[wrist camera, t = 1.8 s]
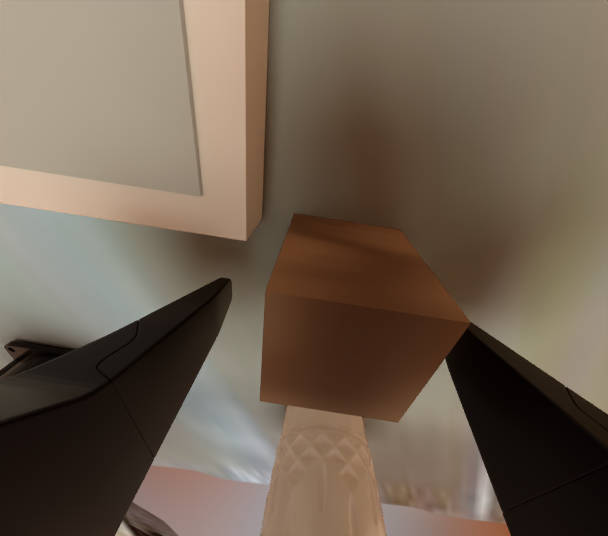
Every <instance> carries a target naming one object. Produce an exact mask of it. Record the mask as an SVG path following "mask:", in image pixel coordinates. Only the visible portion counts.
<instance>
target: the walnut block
mask: <svg viewBox="0 0 608 536" xmlns="http://www.w3.org/2000/svg"><path fill="white" fill-rule="evenodd" d="M470 324H471V323H470V321H469V320H468V319H467V317H466V316H465V315H464V313H463V312H462V311H461V309H460V308H459V307H458V305H457V304H456V303H455V301H454V300H453V299H452V297H451V296H450V295H449V293H448V292H447V291H446V289H445V288H444V287H443V286H442V284H441V283H440V282H439V280H438V279H437V278H436V276H435V275H434V274H433V272H432V271H431V270H430V268H429V267H428V266H427V264H426V263H425V262H424V260H423V259H422V258H421V256H420V255H419V254H418V252H417V251H416V250H415V248H414V247H413V246H412V244H411V243H410V242H409V241H408V239H407V238H406V237H405V235H404V234H403V233H402V231H401V230H398V229H392V228H385V227H379V226H372V225H366V224H359V223H353V222H346V221H340V220H334V219H327V218H321V217H314V216H308V215H301V214H295V213H294V216H293V219H292V221H291V224H290V227H289V229H288V232H287V235H286V237H285V240H284V243H283V245H282V248H281V251H280V253H279V256H278V259H277V261H276V264H275V267H274V270H273V272H272V275H271V278H270V280H269V283H268V286H267V288H266V291H265V309H264V329H263V348H262V368H261V387H260V401H263V402H270V403H276V404H282V405H289V406H295V407H302V408H308V409H315V410H321V411H327V412H334V413H340V414H347V415H353V416H360V417H366V418H373V419H379V420H385V421H392V422H399V420H400V419H401V418H402V416H403V415H404V413H405V412H406V411H407V409H408V408H409V407H410V405H411V404H412V403H413V401H414V400H415V399H416V397H417V396H418V394H419V393H420V392H421V390H422V389H423V388H424V386H425V385H426V384H427V382H428V381H429V379H430V378H431V377H432V375H433V374H434V373H435V371H436V370H437V369H438V367H439V366H440V364H441V363H442V362H443V360H444V359H445V358H446V356H447V355H448V354H449V352H450V351H451V349H452V348H453V347H454V345H455V344H456V343H457V341H458V340H459V339H460V337H461V336H462V334H463V333H464V332H465V330H466V329H467V328H468V326H469V325H470Z"/></svg>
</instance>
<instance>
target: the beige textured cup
mask: <svg viewBox="0 0 608 536" xmlns="http://www.w3.org/2000/svg"><path fill="white" fill-rule="evenodd" d="M260 536H386V530H385V524H384V519H383V512H382V508H381V504H380V501H379V496H378V488H377V482H376V477H375V474H374V470H373V463H372V457H371V453H370V451H369V449H368V444H367V438H366V432H365V426H364V421H363V417H360V416H353V415H347V414H340V413H334V412H327V411H321V410H315V409H308V408H302V407H295V406H289V405H288V406H287V409H286V413H285V417H284V422H283V428H282V434H281V438H280V443H279V445H278V447H277V451H276V458H275V463H274V466H273V470H272V475H271V482H270V489H269V492H268V496H267V499H266V505H265V511H264V516H263V521H262V527H261V532H260Z"/></svg>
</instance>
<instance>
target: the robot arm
mask: <svg viewBox="0 0 608 536" xmlns="http://www.w3.org/2000/svg"><path fill="white" fill-rule="evenodd" d="M231 300H232V281H231V279H228V278H219V279H217V280H215V281H213V282H211V283H209V284H207V285H205V286H203V287H201V288H199V289H197V290H195V291H193V292H192V293H190V294H188V295H186V296H184V297H182V298H180V299H178V300H176V301H174V302H172V303H170V304H168V305H166V306H164V307H162V308H160V309H158V310H156V311H154V312H153V313H151V314H149V315H147V316H145V317H143V318H141V319H139V321H138V320H137V321H135V322H133V323H131V324H129V325H127V326H125V327H123V328H121V329H119V330H117V331H115V332H113V333H111V334H109V335H107V336H104V337H102V338H100V339H98V340H96V341H93V342H91V343H89V344H87V345H85V346H82V347H80V348H78V349H75V350H68V349H61V348H55V347H48V346H42V345H35V344H29V343H22V342H16V341H11V342H10V343H8V344H7V345H5V346H4V348H5V349H6V350H7V352H8V353H9V354H10V355H11V356H12V357H13V358H14V360H13V361H12V362H11V363H9V364H8V365H7V366H5V367H4V368H3V369H1V370H0V536H115V534H116V532H117V530H118V528H119V526H120V524H121V522H122V520H123V519H124V517H125V515H126V513H127V511H128V509H129V507H130V505H131V503H132V501H133V499H134V497H135V495H136V493H137V491H138V489H139V487H140V485H141V483H142V482H143V480H144V478H145V476H146V474H147V472H148V470H149V468H150V466H151V464H152V462H153V460H154V457H155V456H156V454H157V452H158V450H159V448H160V446H161V444H162V443H163V441H164V439H165V437H166V435H167V433H168V431H169V429H170V427H171V425H172V423H173V421H174V419H175V417H176V415H177V413H178V412H179V410H180V408H181V406H182V404H183V402H184V400H185V398H186V396H187V394H188V392H189V390H190V388H191V386H192V384H193V382H194V381H195V379H196V377H197V375H198V373H199V371H200V369H201V367H202V365H203V363H204V361H205V359H206V357H207V355H208V353H209V351H210V349H211V348H212V346H213V344H214V342H215V340H216V338H217V336H218V334H219V332H220V329H221V327H222V324H223V321H224V319H225V316H226V313H227V311H228V308H229V305H230V303H231ZM470 323H471V324H470V325H469V326H468V328H467V329H466V330H465V332H464V333H463V334H462V336H461V337H460V339H459V340H458V341H457V343H456V344H455V345H454V347H453V348H452V349H451V351H450V352H449V354H448V355H447V356H446V358H445V359H446V363H447V366H448V369H449V372H450V375H451V377H452V380H453V383H454V385H455V388H456V391H457V393H458V396H459V399H460V401H461V404H462V407H463V409H464V412H465V414H466V417H467V420H468V422H469V425H470V428H471V430H472V433H473V436H474V438H475V441H476V444H477V446H478V449H479V452H480V454H481V457H482V460H483V462H484V465H485V468H486V470H487V473H488V476H489V478H490V481H491V483H492V486H493V489H494V491H495V494H496V497H497V499H498V502H499V505H500V507H501V510H502V511H503V516H504V518H505V521H506V524H507V526H508V529H509V532H510V534H511V536H608V414H606V413H605V412H603V411H602V410H600V409H599V408H597V407H596V406H594V405H593V404H591V403H590V402H588V401H587V400H585V399H584V398H582V397H581V396H579V395H578V394H576V393H575V392H573V391H572V390H570V389H569V388H567V387H565V386H564V385H563V384H562V383H560V382H559V381H557V380H556V379H554V378H553V377H551V376H550V375H548V374H547V373H545V372H544V371H542V370H541V369H539V368H538V367H536V366H535V365H534V364H532V363H531V362H529V361H528V360H526V359H525V358H523V357H522V356H520V355H519V354H517V353H516V352H514V351H513V350H511V349H510V348H508V347H507V346H506V345H504V344H503V343H501V342H500V341H498V340H497V339H495V338H494V337H492V336H491V335H489V334H488V333H486V332H485V331H483V330H482V329H480V328H479V327H478V326H476V325H475V324H473V323H472V322H470Z"/></svg>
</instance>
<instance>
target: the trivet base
mask: <svg viewBox="0 0 608 536" xmlns="http://www.w3.org/2000/svg"><path fill="white" fill-rule="evenodd" d="M268 27H269V0H0V203H5V204H11V205H18V206H24V207H30V208H37V209H43V210H50V211H56V212H63V213H69V214H75V215H82V216H88V217H95V218H101V219H108V220H114V221H120V222H127V223H133V224H140V225H146V226H153V227H159V228H165V229H172V230H178V231H185V232H191V233H198V234H204V235H211V236H217V237H223V238H230V239H236V240H243V241H247V239H248V238H249V237H250V235H251V234H252V232H253V231H254V230H255V228H256V227H257V225H258V224H259V223H260V221H261V220H262V204H263V174H264V145H265V115H266V86H267V57H268Z"/></svg>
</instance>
